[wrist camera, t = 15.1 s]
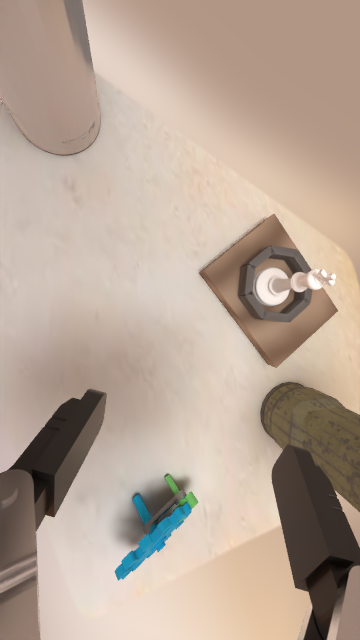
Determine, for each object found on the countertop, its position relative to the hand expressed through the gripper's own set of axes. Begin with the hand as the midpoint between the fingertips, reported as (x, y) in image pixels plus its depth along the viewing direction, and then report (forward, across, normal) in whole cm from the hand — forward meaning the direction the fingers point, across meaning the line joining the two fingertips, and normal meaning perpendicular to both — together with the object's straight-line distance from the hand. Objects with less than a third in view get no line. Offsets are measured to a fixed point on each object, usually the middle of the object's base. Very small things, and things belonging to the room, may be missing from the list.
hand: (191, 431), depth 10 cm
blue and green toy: (+11, -1, +27) cm, 30 cm away
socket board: (+26, -8, 0) cm, 27 cm away
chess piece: (+24, -8, -2) cm, 25 cm away
